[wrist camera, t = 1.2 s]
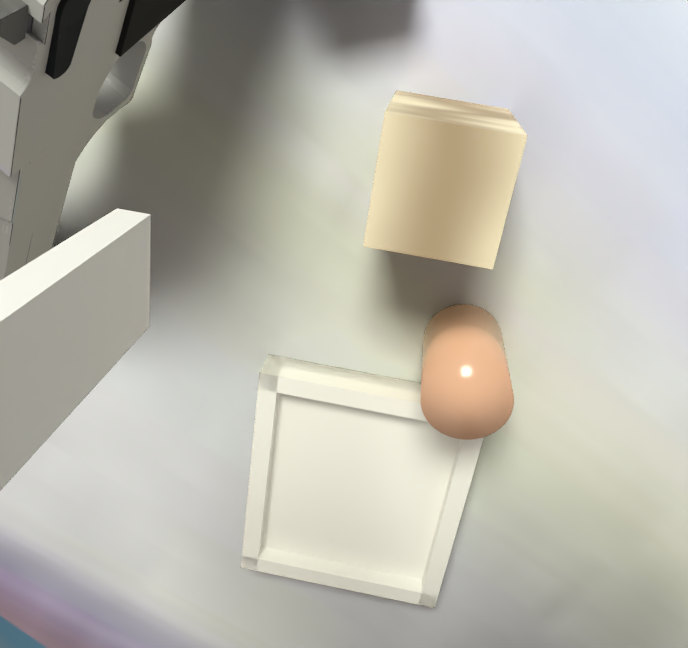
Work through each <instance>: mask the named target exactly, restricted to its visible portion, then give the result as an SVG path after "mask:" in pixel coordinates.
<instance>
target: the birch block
mask: <svg viewBox="0 0 688 648" xmlns="http://www.w3.org/2000/svg"><path fill="white" fill-rule="evenodd" d="M526 140H527V135H526V133H525V132H524V130H523V129H522V128H521V126H520V125H519V123H518V122H517V120H516V119H515V118H514V116H513V115H512V113H511V112H510V110H509V109H505V108H499V107H493V106H487V105H481V104H475V103H469V102H463V101H457V100H451V99H445V98H439V97H433V96H427V95H421V94H414V93H408V92H402V91H396V92H395V94H394V96H393V98H392V100H391V102H390V104H389V105H388V107H387V109H386V111H385V114H384V121H383V127H382V133H381V139H380V145H379V151H378V158H377V164H376V170H375V176H374V182H373V188H372V194H371V201H370V207H369V213H368V219H367V225H366V231H365V238H364V244H363V246H364V247H370V248H375V249H381V250H386V251H392V252H398V253H403V254H409V255H414V256H420V257H426V258H431V259H437V260H442V261H448V262H454V263H459V264H465V265H470V266H476V267H482V268H487V269H493V267H494V263H495V259H496V255H497V251H498V248H499V244H500V240H501V236H502V232H503V228H504V224H505V221H506V217H507V213H508V209H509V205H510V201H511V197H512V194H513V190H514V186H515V182H516V178H517V174H518V170H519V167H520V163H521V159H522V155H523V151H524V147H525V143H526Z"/></svg>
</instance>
